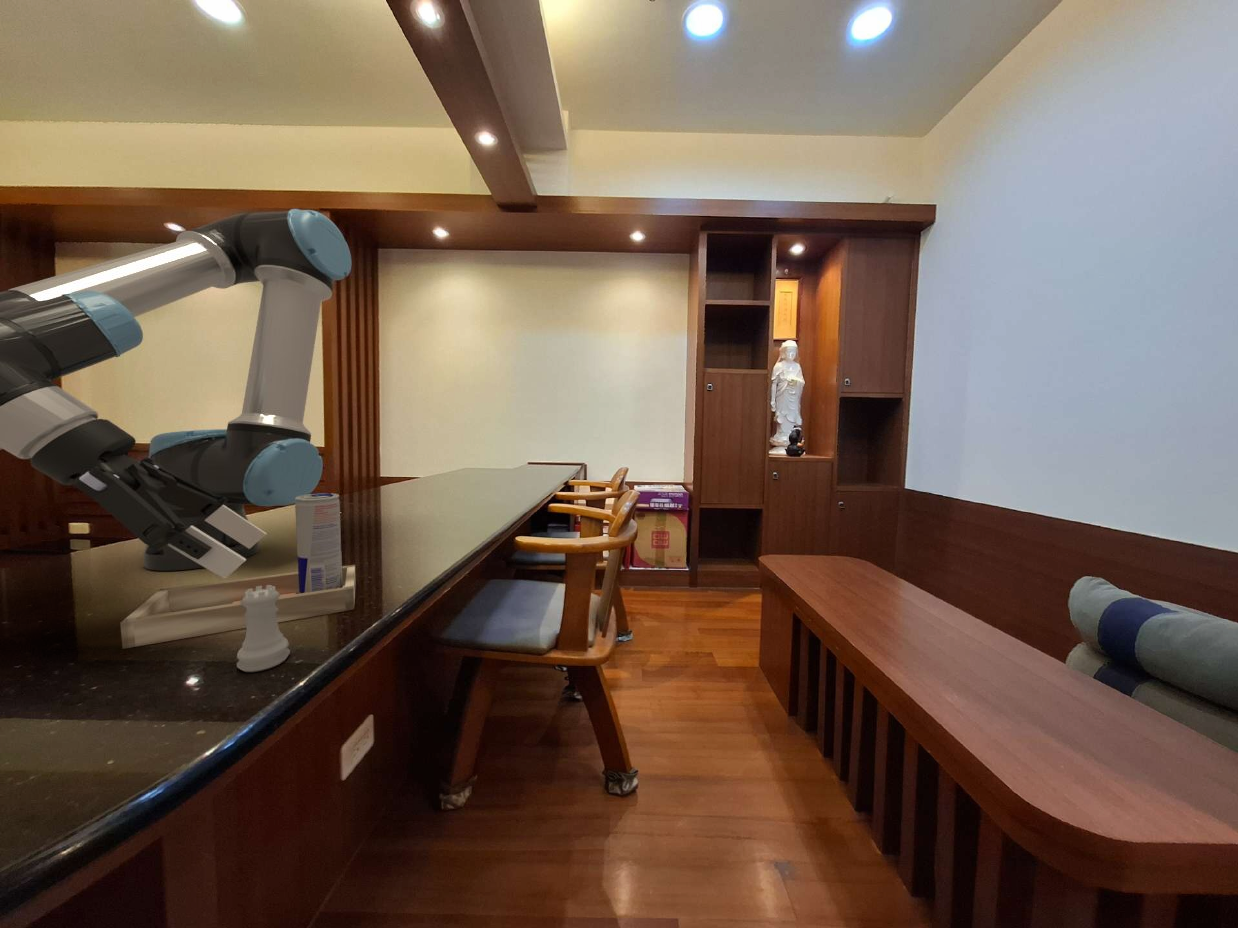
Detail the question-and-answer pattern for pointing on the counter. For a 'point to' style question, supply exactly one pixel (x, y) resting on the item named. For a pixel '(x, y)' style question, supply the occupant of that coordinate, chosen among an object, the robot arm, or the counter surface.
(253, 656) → the rook chess piece
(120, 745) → the counter surface
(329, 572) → the beverage can
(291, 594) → the pads
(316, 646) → the counter surface
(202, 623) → the wooden serving tray
